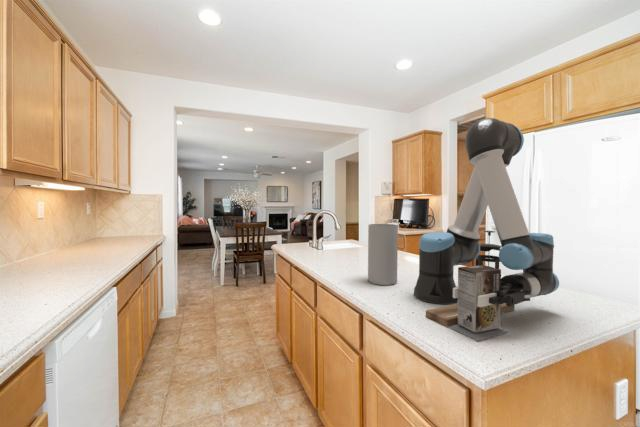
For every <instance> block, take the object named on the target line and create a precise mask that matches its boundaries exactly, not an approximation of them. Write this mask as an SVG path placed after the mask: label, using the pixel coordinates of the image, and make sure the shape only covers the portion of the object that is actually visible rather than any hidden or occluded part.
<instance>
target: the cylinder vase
mask: <svg viewBox="0 0 640 427" xmlns="http://www.w3.org/2000/svg"><path fill="white" fill-rule="evenodd" d="M398 227H399V225H398V224H393V223H370V224H369V223H368V228H367V229H368V235H367V236H368V238H367V240H368V241H367V243H368V244H367V254H368V256H367V281H368V282H369V283H370V284H374V285H376V286H377V285H378V286H391V285H395V284H396V283H398V247H399V246H398V245H399V244H398V243H399V242H398V241H399V240H398V238H399V236H398V235H399V228H398Z"/></svg>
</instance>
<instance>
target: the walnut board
mask: <svg viewBox="0 0 640 427" xmlns="http://www.w3.org/2000/svg"><path fill="white" fill-rule="evenodd" d="M515 305H516V304H515ZM515 305H513V306H507V305H506V303H503V304H501V315H502V314H507V313H510V312H514V311H515ZM425 318H428V319H429V320H432V321H434V322H435V323H438V324H439V325H440V324H441V326H444V327H447V328H448V326H452V325H456V324H458V303H453V304H448V305H444V306H440V307H435V308H431V309H430V308H429V309H426V310H425Z"/></svg>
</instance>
